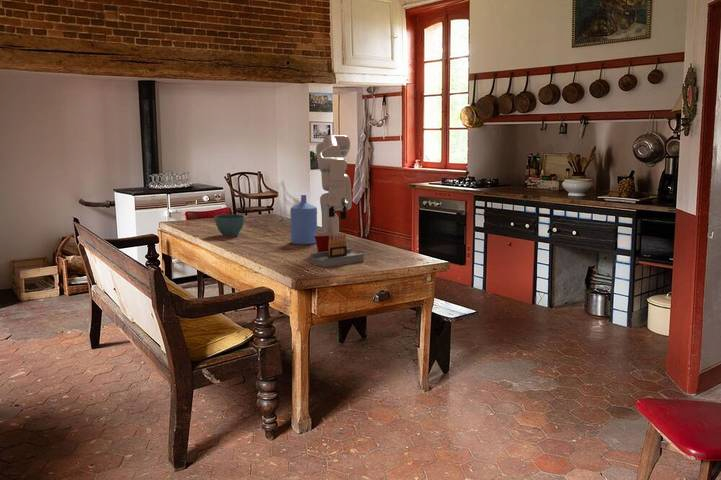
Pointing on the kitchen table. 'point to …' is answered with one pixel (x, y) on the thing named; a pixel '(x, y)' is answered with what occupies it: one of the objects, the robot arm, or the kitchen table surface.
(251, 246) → the kitchen table surface
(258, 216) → the kitchen table surface
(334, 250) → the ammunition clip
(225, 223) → the plant pot
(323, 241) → the plastic cup
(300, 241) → the water jug
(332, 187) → the robot arm
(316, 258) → the grey tray
